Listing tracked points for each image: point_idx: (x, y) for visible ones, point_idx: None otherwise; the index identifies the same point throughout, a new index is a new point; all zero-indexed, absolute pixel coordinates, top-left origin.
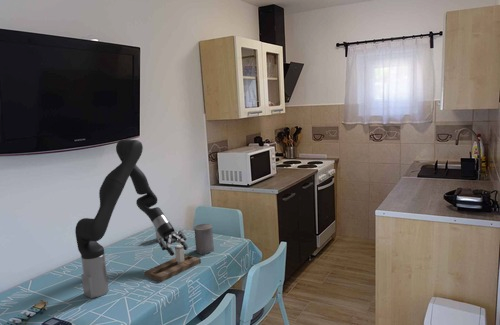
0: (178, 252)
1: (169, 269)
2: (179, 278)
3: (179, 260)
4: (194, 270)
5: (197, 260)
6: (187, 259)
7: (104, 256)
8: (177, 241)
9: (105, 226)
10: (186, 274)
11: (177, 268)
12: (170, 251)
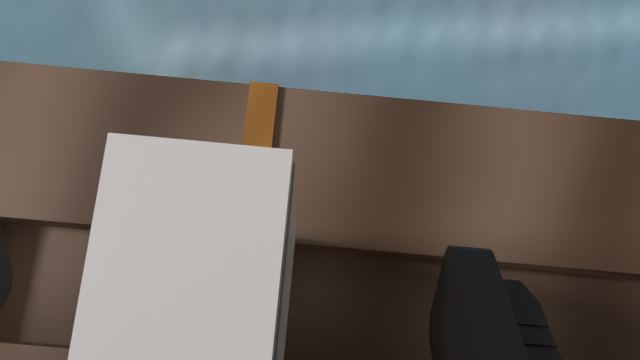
0: (289, 250)
1: (581, 233)
2: (572, 19)
3: (292, 262)
4: (282, 3)
5: (60, 68)
6: (31, 327)
7: None
8: None
9: None
10: (434, 17)
11: (482, 137)
12: (541, 339)
